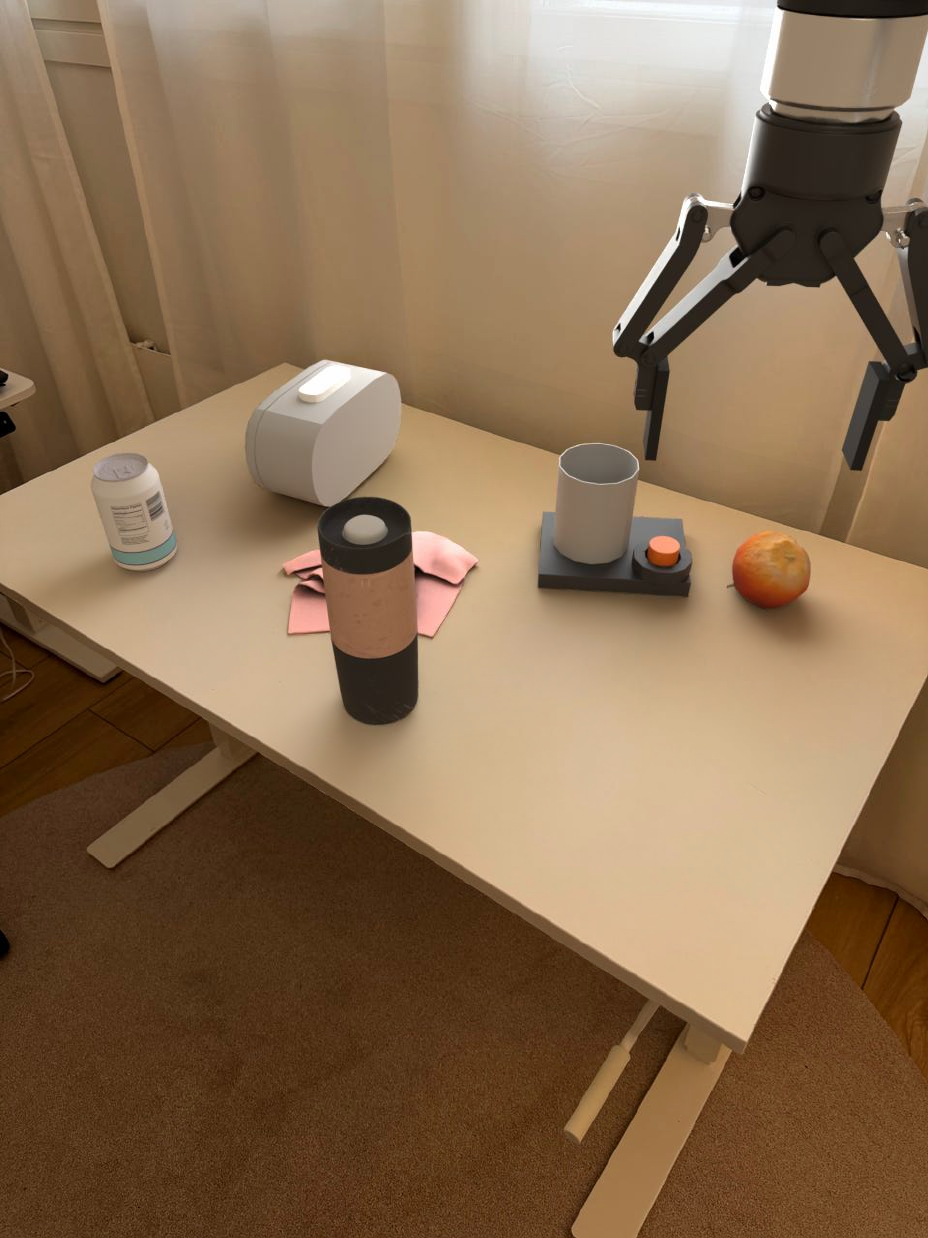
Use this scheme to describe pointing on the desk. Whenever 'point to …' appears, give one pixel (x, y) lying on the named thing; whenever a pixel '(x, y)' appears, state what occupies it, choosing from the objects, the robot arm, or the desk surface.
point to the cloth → (434, 584)
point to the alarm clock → (323, 432)
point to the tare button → (663, 551)
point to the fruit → (771, 570)
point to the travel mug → (371, 606)
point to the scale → (619, 563)
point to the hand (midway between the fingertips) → (749, 455)
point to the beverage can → (133, 511)
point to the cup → (595, 502)
